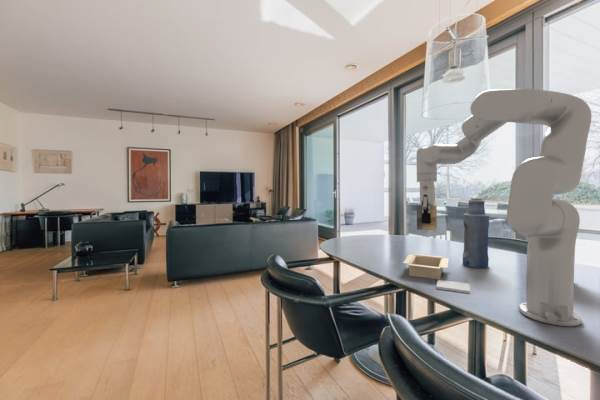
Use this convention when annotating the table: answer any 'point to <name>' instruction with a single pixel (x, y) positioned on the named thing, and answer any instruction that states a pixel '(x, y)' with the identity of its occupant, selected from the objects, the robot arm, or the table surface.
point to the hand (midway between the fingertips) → (426, 222)
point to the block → (433, 218)
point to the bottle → (476, 235)
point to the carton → (426, 265)
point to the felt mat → (453, 286)
